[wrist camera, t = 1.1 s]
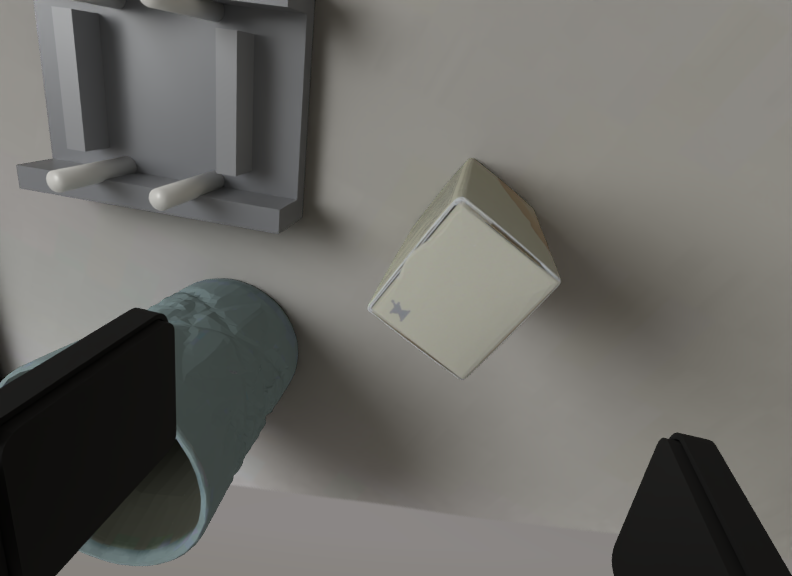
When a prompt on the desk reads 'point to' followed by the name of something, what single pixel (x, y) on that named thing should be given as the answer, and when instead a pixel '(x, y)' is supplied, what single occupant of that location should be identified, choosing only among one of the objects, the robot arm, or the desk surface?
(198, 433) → the teal embossed cup
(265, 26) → the tray
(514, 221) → the box
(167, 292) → the desk surface
